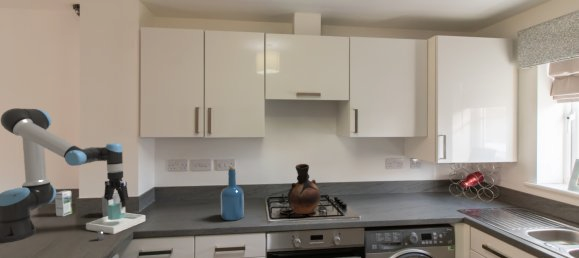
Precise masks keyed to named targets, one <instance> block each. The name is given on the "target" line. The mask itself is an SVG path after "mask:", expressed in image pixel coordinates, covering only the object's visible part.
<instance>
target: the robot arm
mask: <svg viewBox="0 0 579 258" xmlns="http://www.w3.org/2000/svg"><path fill="white" fill-rule="evenodd" d="M0 123H1V126H2V127H3V128H4V129H5V130H6V131H8V132H9V133H11V134H13V135H15V136H20V137H21V138H22V151H23V162H24V163H23V164H24V176H25V177H24V178H25V182H24V183H22V184H21V186H22V187H17V188H13V189H7V190H4V191H2V192H0V243H9V242H16V241H19V240H23V239H26V238H29V237H31V236H34V234H36V227H35V225H34V223H33V221H32V219H31V211H33V210H37V209H39V208H43V207H45V206H47V205H50V204H51V203H52V202H53V201H54V200H55V196H56V193H57V190H56V187H55V186H54V185H53V184H51V181H50V180H49V179H48V178H47V170H46V169H47V168H46V155H45V154H46V153H45V149H47V150H48V151H50V152H52V153H54V154H56V155H58V156H60V157H62V158H63V159H64V161H65V162H66V163H67V165H69V166H72V167H73V166H81V165H85V164H90V163H94V162H106V172H107V174H106V175H107V177H106V178H107V179H108V180H105V181H104V194H103V195H104V199H107V202H108V205H111V204H113V198H112V197H113V194H114V193H115V191H117V192H116V193H118V195H119V197H120V214H122V213H126V206H127V205H126V201H128V200H129V192H128V187H127V185H128V184H127V181H123V178H124V171H123V170H124V164H123V163H124V161H123V158H124V157H123V152H124V151H123V145H122V143H120V142H118V143H117V142H116V143H115V142H114V143H110V142H109V143H107V144H106V145H105V147H99V146H98V147H96V146H95V147H93V146H92V147H85V148H83V149H82V148H80V147H79V146H76V145H75V144H73V143H71V142H69V141H67V140H65V139H64V138H61V137H60V136H58V135H56V134H54V133H53V132H51V131H48V130H47V129H49V128H50V126H51V125H52V118H51V117H50V115H49V113H47V112H46V110H45V111H44V110H42V109H36V108H19V107H18V108H15V107H14V108H10V109H7V110H5V111H4V112H3V113H2V115H1V117H0ZM111 199H112V200H111Z"/></svg>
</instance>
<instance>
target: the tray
mask: <svg viewBox="0 0 579 258" xmlns="http://www.w3.org/2000/svg"><path fill="white" fill-rule="evenodd" d="M125 214H126V216H125V217H124V218H121V219H116V220H108V216H106V217H103V216H102V217H101V218H98V219H94V220H92V221H88V222H86V223H85V230H88V231H94V232H98V231H101V230H103V234H105V233H106V234H111V235H112V234H113V235H115V234H117V233H120V232H122V231H125V230H127V229H129V228H132V227H135V226H136V225H139V224H141V223H144V222H146V215H145V214H138V213H129V212H125Z"/></svg>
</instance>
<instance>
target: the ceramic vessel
mask: <svg viewBox="0 0 579 258" xmlns="http://www.w3.org/2000/svg"><path fill="white" fill-rule="evenodd" d="M309 169H310V165H309V164H307V163H299V164H297V165H296V166H295V170H296V173H297V176H296V180H297V182H293V183H291V187H290V188H289V190H288V193H287V199H286V200H287V203H288V205H289V207H290V209H291V210H292V212H294V213H296V214H298V215H299V214H301V215H302V214H303V215H307V214H311V213H313V212H314V211H315V210H316V209H317V208H318V206H319V204H320V201H321V198H322V197H321V196H322V195H321V191H320V188H319V187H318V186H317V184H316V179H312V180H309V179H310V174H309Z"/></svg>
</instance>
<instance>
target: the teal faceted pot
mask: <svg viewBox="0 0 579 258" xmlns="http://www.w3.org/2000/svg"><path fill="white" fill-rule="evenodd" d="M125 213H126V212H125ZM125 213H122V214H120V203H114V204H111V205H108V220H116V219H121V218H124V217H125V216H126V214H125Z"/></svg>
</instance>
